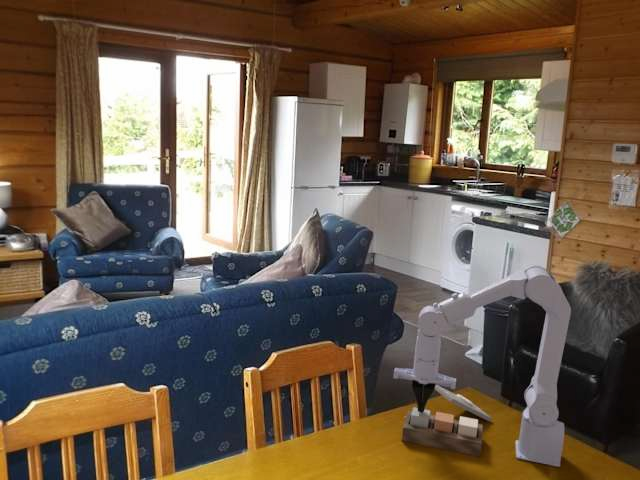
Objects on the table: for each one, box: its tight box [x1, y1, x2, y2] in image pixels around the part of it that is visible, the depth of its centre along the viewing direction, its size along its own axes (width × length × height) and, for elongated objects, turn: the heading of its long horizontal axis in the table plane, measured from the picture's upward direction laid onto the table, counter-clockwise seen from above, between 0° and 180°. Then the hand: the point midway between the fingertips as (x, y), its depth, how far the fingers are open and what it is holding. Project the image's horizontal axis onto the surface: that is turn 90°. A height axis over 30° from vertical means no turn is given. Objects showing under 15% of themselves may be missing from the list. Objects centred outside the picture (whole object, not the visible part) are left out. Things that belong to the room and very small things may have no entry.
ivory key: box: [458, 416, 479, 438], centre depth 142 cm, size 4×4×3 cm
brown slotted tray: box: [401, 410, 483, 458], centre depth 144 cm, size 18×9×4 cm, turn 74°
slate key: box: [410, 406, 431, 428], centre depth 145 cm, size 4×4×3 cm
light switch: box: [434, 385, 492, 423], centre depth 156 cm, size 8×6×14 cm
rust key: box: [434, 411, 455, 433], centre depth 143 cm, size 4×4×3 cm
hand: (421, 410), depth 145 cm, fingers closed
